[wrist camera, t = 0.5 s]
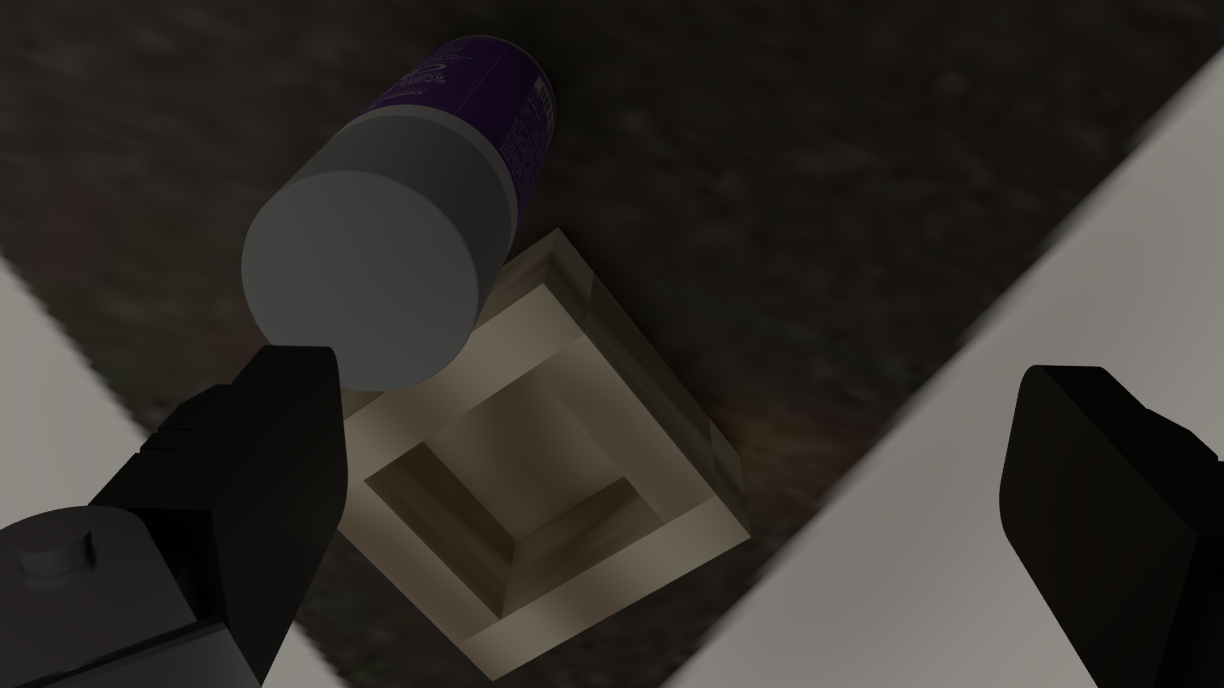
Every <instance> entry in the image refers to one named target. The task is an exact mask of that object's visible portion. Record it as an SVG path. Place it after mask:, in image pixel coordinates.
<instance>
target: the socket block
mask: <svg viewBox="0 0 1224 688" xmlns="http://www.w3.org/2000/svg"><path fill="white" fill-rule="evenodd" d="M340 389H341V399H342V410H343V420H344V431H345V441H346V452H347V462H348V488H347V497H346V503H345V508H344V512H343V515H342V518H341V520H340V523H339V525H338V527H337V529H338V530H339V531H340V532H341V533H342V534H343V535H344V536H345V537H346V538H347V539H348V540H349V541H350V542H351V543H352V544H353V545H354V546H356V547H357V548H358V549H359V550H360V551H361V552H362V553H363V554H364V555H365V556H366V557H367V558H368V559H369V560H370V561H371V562H372V563H373V564H374V565H375V566H376V567H377V568H378V569H379V570H380V571H381V572H382V573H383V574H384V575H385V576H386V577H387V578H388V579H389V580H390V581H391V582H392V583H393V584H394V585H395V586H396V587H397V588H398V589H399V590H400V591H401V592H402V593H403V594H404V595H405V596H406V597H407V598H408V599H409V600H410V601H411V602H412V603H413V604H414V605H415V606H416V607H417V608H418V609H419V610H420V611H421V612H422V613H423V614H425V615H426V616H427V617H428V618H429V619H430V620H431V621H432V622H433V623H434V624H435V625H436V626H437V627H438V628H439V629H440V630H441V631H442V632H443V633H444V634H445V635H446V636H447V637H448V638H449V639H450V640H451V641H452V642H453V643H454V644H455V645H456V646H457V647H458V648H459V649H460V650H461V651H462V652H463V653H464V654H465V655H466V656H467V657H468V658H469V659H470V660H471V661H472V662H473V663H474V664H475V665H476V666H477V667H478V668H479V669H480V670H481V671H482V672H483V673H484V674H485V675H486V676H487V677H488V678H489V679H490V680H491V681H494V680H496V679H497V678H499V677H501V676H503V675H505V674H506V673H508V672H510V671H512V670H514V669H515V668H517V667H519V666H521V665H523V664H524V663H526V662H528V661H530V660H532V659H533V658H535V657H537V656H539V655H540V654H542V653H544V652H546V651H548V650H549V649H551V648H553V647H555V646H557V645H558V644H560V643H562V642H564V641H566V640H567V639H569V638H571V637H573V636H575V635H576V634H578V633H580V632H582V631H584V630H585V629H587V628H589V627H591V626H592V625H594V624H596V623H598V622H600V621H601V620H603V619H605V618H607V617H609V616H610V615H612V614H614V613H616V612H618V611H619V610H621V609H623V608H625V607H627V606H628V605H630V604H632V603H634V602H636V601H637V600H639V599H641V598H643V597H644V596H646V595H648V594H650V593H652V592H653V591H655V590H657V589H659V588H661V587H662V586H664V585H666V584H668V583H670V582H671V581H673V580H675V579H677V578H679V577H680V576H682V575H684V574H686V573H688V572H689V571H691V570H693V569H695V568H696V567H698V566H700V565H702V564H704V563H705V562H707V561H709V560H711V559H713V558H714V557H716V556H718V555H720V554H722V553H723V552H725V551H727V550H729V549H731V548H732V547H734V546H736V545H738V544H739V543H741V542H743V541H745V540H747V539H748V538H750V537H751V533H750V526H749V519H748V512H747V505H746V498H745V491H744V484H743V477H742V470H741V463H740V456H739V455H738V453H737V452H736V451H735V449H734V448H733V447H732V446H731V444H730V443H729V442H728V441H727V439H726V438H725V437H724V436H723V434H722V433H721V432H720V431H719V429H718V428H717V427H716V426H715V424H714V423H713V422H712V420H711V419H710V418H709V417H708V415H707V414H706V413H705V412H704V410H703V409H702V408H701V407H700V405H699V404H698V403H697V402H696V400H695V399H694V398H693V397H692V395H691V394H690V393H689V391H688V390H687V389H686V388H685V386H684V385H683V384H682V383H681V381H680V380H679V379H678V378H677V376H676V375H675V374H674V373H673V371H672V370H671V369H670V368H669V366H668V365H667V364H666V363H665V361H664V360H663V359H662V357H661V356H660V355H659V354H658V352H657V351H656V350H655V349H654V347H653V346H652V345H651V344H650V342H649V341H648V340H647V339H646V337H645V336H644V335H643V334H642V332H641V331H640V330H639V328H638V327H637V326H636V325H635V323H634V322H633V321H632V320H631V318H630V317H629V316H628V315H627V313H626V312H625V311H624V310H623V308H622V307H621V306H620V305H619V303H618V302H617V301H616V299H615V298H614V297H613V296H612V294H611V293H610V292H609V291H608V289H607V288H606V287H605V286H604V284H603V283H602V282H601V281H600V279H599V278H598V277H597V276H596V274H595V273H594V272H593V270H592V269H591V268H590V267H589V265H588V264H587V263H586V262H585V260H584V259H583V258H582V257H581V255H580V254H579V253H578V252H577V250H576V249H575V248H574V247H573V245H572V244H571V243H570V242H569V240H568V239H567V238H566V236H565V235H564V234H563V233H562V231H561V230H560V229H559V228H558V227H557V228H556V229H555V230H553V231H552V232H550V233H549V234H548V235H546V236H545V237H543V238H542V239H541V240H539V241H538V242H536V243H535V244H533V245H532V246H531V247H529V248H528V249H526V250H525V251H524V252H522V253H521V254H519V255H518V256H517V257H515V258H514V259H512V260H511V261H509V262H508V263H507V264H505V265H504V266H502V267H501V269H500V271H499V274H498V276H497V278H496V280H495V282H494V284H493V287H492V289H491V291H490V293H489V295H488V298H487V300H486V302H485V304H484V306H483V308H482V311H481V313H480V315H479V317H478V319H477V321H476V324H475V326H474V328H473V330H472V332H471V335H470V336H469V338H468V340H467V342H466V344H465V346H464V347H463V348H462V350H461V351H460V353H459V354H458V355H457V356H456V357H455V359H454V360H453V361H452V362H451V363H450V364H449V365H447V366H446V367H445V368H444V369H443V370H441V371H440V372H439V373H437V374H436V375H434V376H432V377H430V378H429V379H427V380H425V381H423V382H421V383H418V384H416V385H413V386H409V387H406V388H402V389H397V390H391V391H380V392H370V391H358V390H352V389H347V388H342V387H340Z"/></svg>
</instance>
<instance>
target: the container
mask: <svg viewBox="0 0 1224 688" xmlns="http://www.w3.org/2000/svg"><path fill="white" fill-rule="evenodd" d="M555 123H556V102H555V96H554V92H553V89H552V86H551V83H550V81H549V79H548V77H547V75H546V73H545V72H544V70H543V69H542V67H541V66H540V65H539V63H538V62H537V61H536V60H535V59H534V58H533V57H532V56H531V55H530V54H529V53H528V52H527V51H525V50H524V49H523V48H521V47H519V46H518V45H516V44H514V43H512V42H510V41H508V40H505V39H502V38H499V37H495V36H489V35H470V36H464V37H461V38H457V39H455V40H452V41H450V42H448V43H446V44H444V45H443V46H441V47H440V48H438V49H437V50H435V51H434V52H433V53H432V54H430V55H429V56H428V57H427V58H426V59H424V60H423V61H422V62H421V63H420V64H418V65H417V66H416V67H415V68H414V69H412V70H411V71H410V72H409V73H408V74H406V75H405V76H404V77H403V78H402V79H400V80H399V81H398V82H397V83H396V84H394V85H393V86H392V87H391V88H390V89H388V90H387V91H386V92H385V93H384V94H382V95H381V96H380V97H379V98H378V99H376V100H375V101H374V102H373V103H372V104H370V105H369V106H368V107H367V108H366V109H364V110H363V111H362V112H361V113H360V114H358V115H357V116H356V117H355V118H354V119H352V120H351V121H350V122H349V123H348V124H346V125H345V126H344V127H343V128H342V129H341V130H340V131H339V132H338V133H337V134H336V135H335V136H334V137H333V138H332V139H331V140H330V141H329V142H328V143H327V144H326V145H325V146H324V147H323V148H322V149H321V150H320V151H319V152H318V153H317V154H316V155H315V156H314V157H313V158H312V159H311V160H310V161H309V162H307V163H306V164H305V165H304V166H303V167H302V168H301V169H300V170H299V171H298V172H297V173H296V174H295V175H294V176H293V177H292V178H291V179H290V180H289V181H288V182H287V183H286V184H285V185H284V186H283V187H282V188H281V189H280V190H279V191H278V192H277V193H276V194H275V195H274V196H273V197H272V198H271V199H270V200H269V201H268V202H267V203H266V204H265V205H264V206H263V207H262V209H261V210H260V211H259V213H258V214H257V216H256V217H255V219H254V221H253V222H252V224H251V226H250V228H249V231H248V234H247V236H246V240H245V243H244V248H243V254H242V281H243V287H244V292H245V296H246V299H247V302H248V305H249V308H250V310H251V313H252V315H253V317H254V319H255V321H256V323H257V324H258V326H259V328H260V329H261V331H262V332H263V334H264V335H265V336H266V338H267V339H268V340H269V341H270V343H271V344H272V345H291V346H328V347H331V348H332V349H333V351H334V353H335V355H336V359H337V363H338V369H339V379H340V387H342V388H347V389H352V390H358V391H370V392H380V391H391V390H397V389H402V388H406V387H409V386H413V385H416V384H418V383H421V382H423V381H425V380H427V379H429V378H430V377H432V376H434V375H436V374H437V373H439V372H440V371H441V370H443V369H444V368H445V367H446V366H447V365H449V364H450V363H451V362H452V361H453V360H454V359H455V357H456V356H457V355H458V354H459V353H460V351H461V350H462V348H463V347H464V346H465V344H466V342H467V340H468V338H469V336H470V335H471V332H472V330H473V328H474V326H475V324H476V321H477V319H478V317H479V315H480V313H481V311H482V308H483V306H484V304H485V302H486V300H487V298H488V295H489V293H490V291H491V289H492V287H493V284H494V282H495V280H496V278H497V276H498V274H499V271H500V269H501V267H502V265H503V263H504V261H505V259H506V256H507V255H508V253H509V251H510V248H511V246H512V244H513V241H514V238H515V236H516V233H517V230H518V228H519V225H520V222H521V220H522V217H523V214H524V212H525V209H526V206H527V204H528V201H529V198H530V196H531V193H532V190H533V188H534V185H535V182H536V179H537V177H538V174H539V171H540V169H541V166H542V163H543V161H544V158H545V155H546V153H547V150H548V147H549V145H550V142H551V139H552V136H553V132H554V128H555Z"/></svg>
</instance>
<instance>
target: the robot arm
mask: <svg viewBox="0 0 1224 688" xmlns="http://www.w3.org/2000/svg"><path fill="white" fill-rule="evenodd" d="M347 488H348V462H347V452H346V441H345V431H344V420H343V410H342V399H341V389H340V379H339V369H338V363H337V359H336V355H335V353H334V351H333V349H332V348H331V347H328V346H291V345H265V346H263V347H262V348H261V349H260V350H259V351H258V352H257V354H256V355H255V356H254V357H253V358H252V359H251V361H250V362H249V363H248V364H247V365H246V367H245V368H244V369H243V370H242V371H241V372H240V374H239V375H238V376H237V377H236V378H235V379H234V381H233V382H232V383H231V384H230V385H221V384H216V385H215V386H213V387H211V388H209V389H207V390H205V391H203V392H202V393H200V394H198V395H196V396H194V397H192V398H191V399H189V400H187V401H185V402H183V403H181V404H180V405H179V406H178V407H177V408H176V409H175V410H174V411H173V412H172V413H171V414H170V416H169V417H168V418H167V419H166V420H165V421H164V422H163V423H162V424H161V425H160V426H159V428H158V433H153V434H152V435H151V436H150V437H149V438H148V440H147V441H146V442H145V443H144V444H143V445H142V446H141V447H140V453H135V454H134V455H133V456H132V457H131V458H130V459H129V460H128V461H127V463H126V464H125V465H124V466H123V467H122V468H121V469H120V470H119V471H118V472H117V473H116V475H115V476H114V477H113V478H112V479H111V480H110V481H109V482H108V483H107V484H106V485H105V487H104V488H103V489H102V490H101V491H100V492H99V493H98V494H97V495H96V496H95V497H94V499H93V500H92V501H91V502H90V503H89V504H88V505H87V506H77V507H69V508H63V509H57V510H53V511H48V512H44V513H41V514H38V515H34V516H31V517H28V518H26V519H23V520H21V521H18V522H16V523H13V524H11V525H9V526H7V527H5V528H4V529H1V530H0V688H261V687H262V685H263V683H264V680H265V678H266V676H267V674H268V672H269V670H270V668H271V666H272V664H273V661H274V659H275V657H276V655H277V653H278V651H279V649H280V647H281V645H282V642H283V640H284V638H285V636H286V634H287V632H288V630H289V628H290V626H291V624H292V621H293V619H294V617H295V615H296V613H297V611H298V609H299V607H300V605H301V603H302V600H303V598H304V596H305V594H306V592H307V590H308V588H309V586H310V584H311V581H312V579H313V577H314V575H315V573H316V571H317V569H318V567H319V565H320V563H321V560H322V558H323V556H324V554H325V552H326V550H327V548H328V546H329V544H330V541H331V539H332V537H333V535H334V533H335V531H336V529H337V527H338V525H339V523H340V520H341V518H342V515H343V512H344V508H345V503H346V497H347ZM999 505H1000V506H999V507H1000V516H1001V521H1002V525H1003V529H1004V532H1005V534H1006V537H1007V539H1008V540H1009V542H1010V544H1011V545H1012V547H1013V549H1014V550H1015V552H1016V554H1017V555H1018V557H1019V558H1020V560H1021V562H1022V563H1023V565H1024V567H1025V568H1026V570H1027V572H1028V573H1029V575H1030V577H1031V578H1032V580H1033V582H1034V583H1035V585H1036V586H1037V588H1038V590H1039V591H1040V593H1041V595H1042V596H1043V598H1044V600H1045V601H1046V603H1047V605H1048V606H1049V608H1050V610H1051V611H1052V613H1053V614H1054V616H1055V618H1056V619H1057V621H1058V623H1059V624H1060V626H1061V627H1062V629H1063V631H1064V632H1065V634H1066V636H1067V637H1068V639H1069V641H1070V642H1071V644H1072V646H1073V647H1074V649H1075V651H1076V652H1077V654H1078V656H1079V657H1080V659H1081V660H1082V662H1083V664H1084V665H1085V667H1086V669H1087V670H1088V672H1089V674H1090V675H1091V677H1092V679H1093V680H1094V682H1095V683H1096V685H1097V687H1098V688H1224V461H1218V456H1217V455H1216V454H1215V453H1214V452H1213V451H1212V450H1211V449H1210V448H1209V447H1208V446H1206V445H1205V444H1204V443H1203V442H1202V441H1201V440H1200V439H1199V438H1198V437H1197V436H1196V435H1194V434H1193V433H1192V432H1191V431H1190V430H1188V429H1186V428H1184V427H1182V426H1180V425H1178V424H1176V423H1174V422H1173V421H1171V420H1169V419H1167V418H1165V417H1163V416H1161V415H1159V414H1157V413H1155V412H1153V411H1152V410H1150V409H1146V408H1145V407H1144V406H1143V405H1142V404H1141V403H1140V402H1139V401H1138V400H1137V399H1136V398H1135V397H1134V396H1132V394H1130V392H1128V391H1127V390H1126V389H1125V388H1124V387H1123V386H1122V385H1121V384H1120V383H1119V382H1118V381H1117V380H1116V379H1115V378H1114V377H1113V376H1112V375H1111V374H1110V373H1108V372H1107V371H1106V370H1105V369H1104V368H1102V367H1095V366H1053V365H1033V366H1031V367H1030V368H1029V369H1028V370H1027V371H1026V373H1025V374H1024V376H1023V378H1022V381H1021V384H1020V388H1019V393H1018V398H1017V403H1016V408H1015V413H1014V418H1013V423H1012V428H1011V433H1010V438H1009V443H1008V448H1007V453H1006V458H1005V463H1004V468H1003V473H1002V478H1001V483H1000V492H999Z"/></svg>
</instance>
